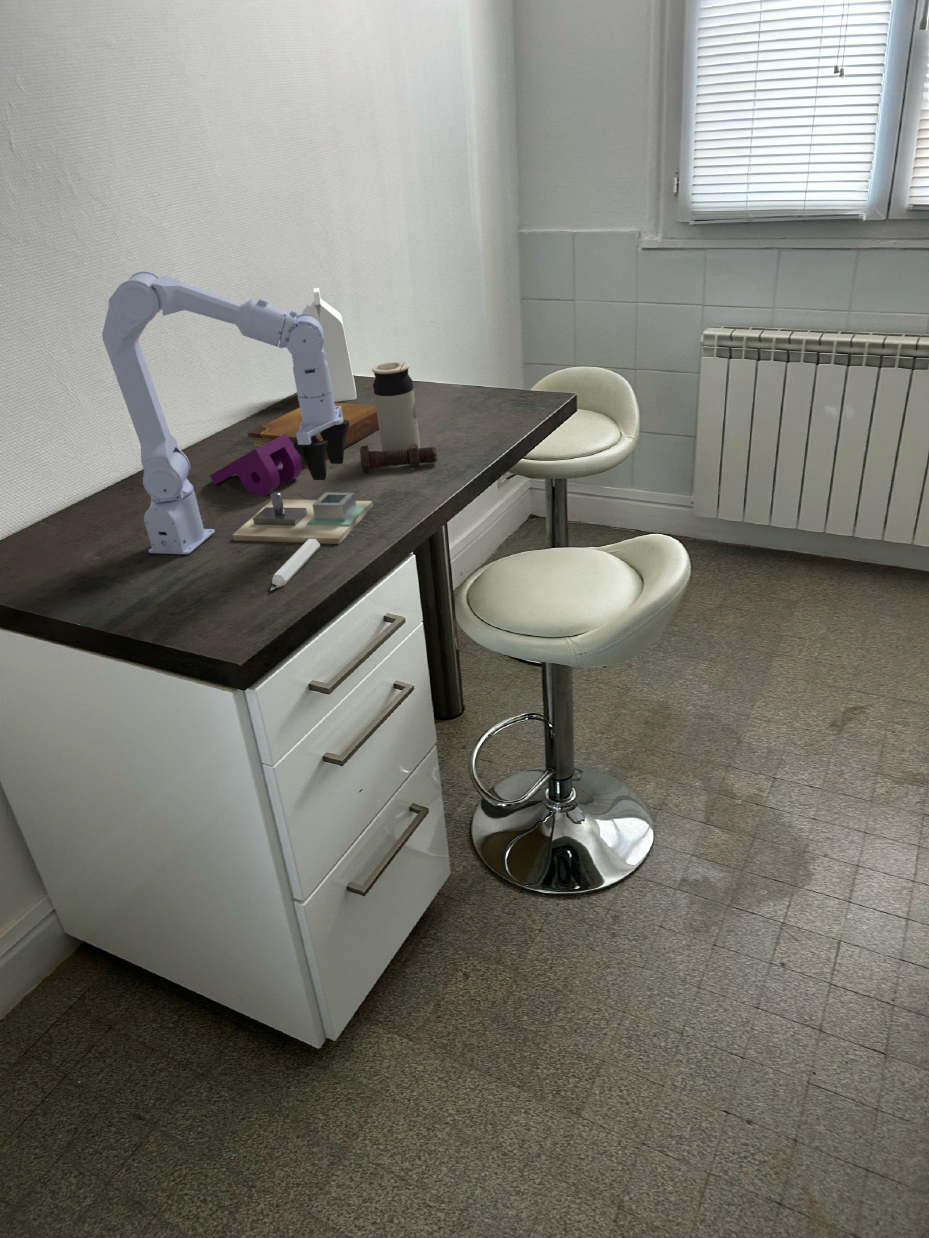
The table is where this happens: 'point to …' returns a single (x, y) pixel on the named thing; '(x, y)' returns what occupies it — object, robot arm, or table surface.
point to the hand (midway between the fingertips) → (328, 471)
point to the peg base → (279, 513)
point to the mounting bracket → (264, 467)
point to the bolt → (396, 457)
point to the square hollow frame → (334, 506)
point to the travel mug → (395, 406)
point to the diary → (359, 427)
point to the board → (303, 526)
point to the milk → (334, 348)
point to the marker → (295, 563)
